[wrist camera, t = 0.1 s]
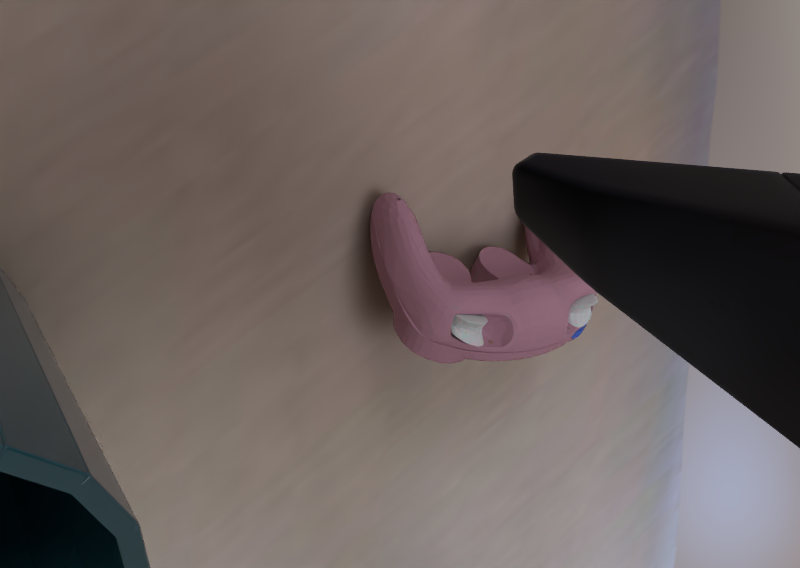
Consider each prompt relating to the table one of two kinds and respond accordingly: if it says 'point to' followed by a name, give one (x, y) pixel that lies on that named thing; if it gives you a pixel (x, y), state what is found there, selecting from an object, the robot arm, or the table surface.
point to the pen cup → (53, 462)
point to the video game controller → (474, 294)
